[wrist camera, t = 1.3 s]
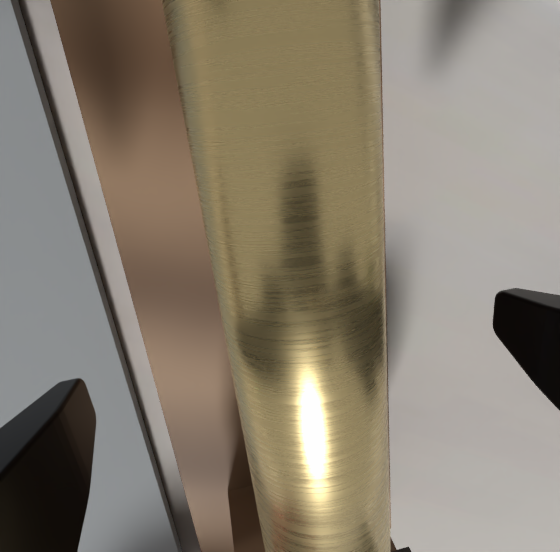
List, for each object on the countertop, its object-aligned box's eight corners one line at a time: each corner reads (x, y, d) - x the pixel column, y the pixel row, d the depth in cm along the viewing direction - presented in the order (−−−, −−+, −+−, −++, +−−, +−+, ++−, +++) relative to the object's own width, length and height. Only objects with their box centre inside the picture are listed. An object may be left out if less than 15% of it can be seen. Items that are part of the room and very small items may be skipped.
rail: (62, -531, 5) (-82, -1277, 2) (309, -512, 6) (431, -1116, 3) (284, 653, 14) (308, 782, 12) (370, 627, 15) (412, 745, 12)
